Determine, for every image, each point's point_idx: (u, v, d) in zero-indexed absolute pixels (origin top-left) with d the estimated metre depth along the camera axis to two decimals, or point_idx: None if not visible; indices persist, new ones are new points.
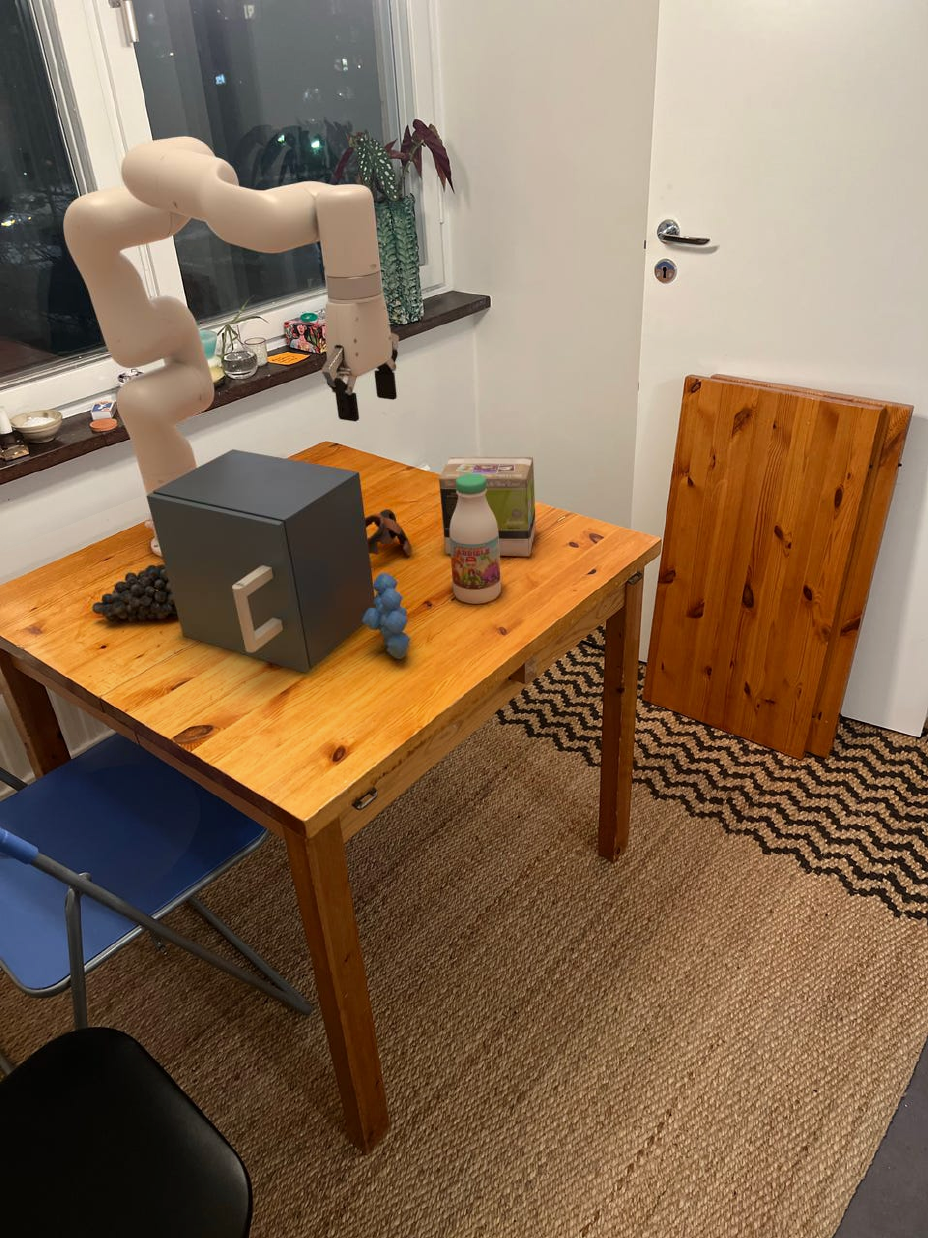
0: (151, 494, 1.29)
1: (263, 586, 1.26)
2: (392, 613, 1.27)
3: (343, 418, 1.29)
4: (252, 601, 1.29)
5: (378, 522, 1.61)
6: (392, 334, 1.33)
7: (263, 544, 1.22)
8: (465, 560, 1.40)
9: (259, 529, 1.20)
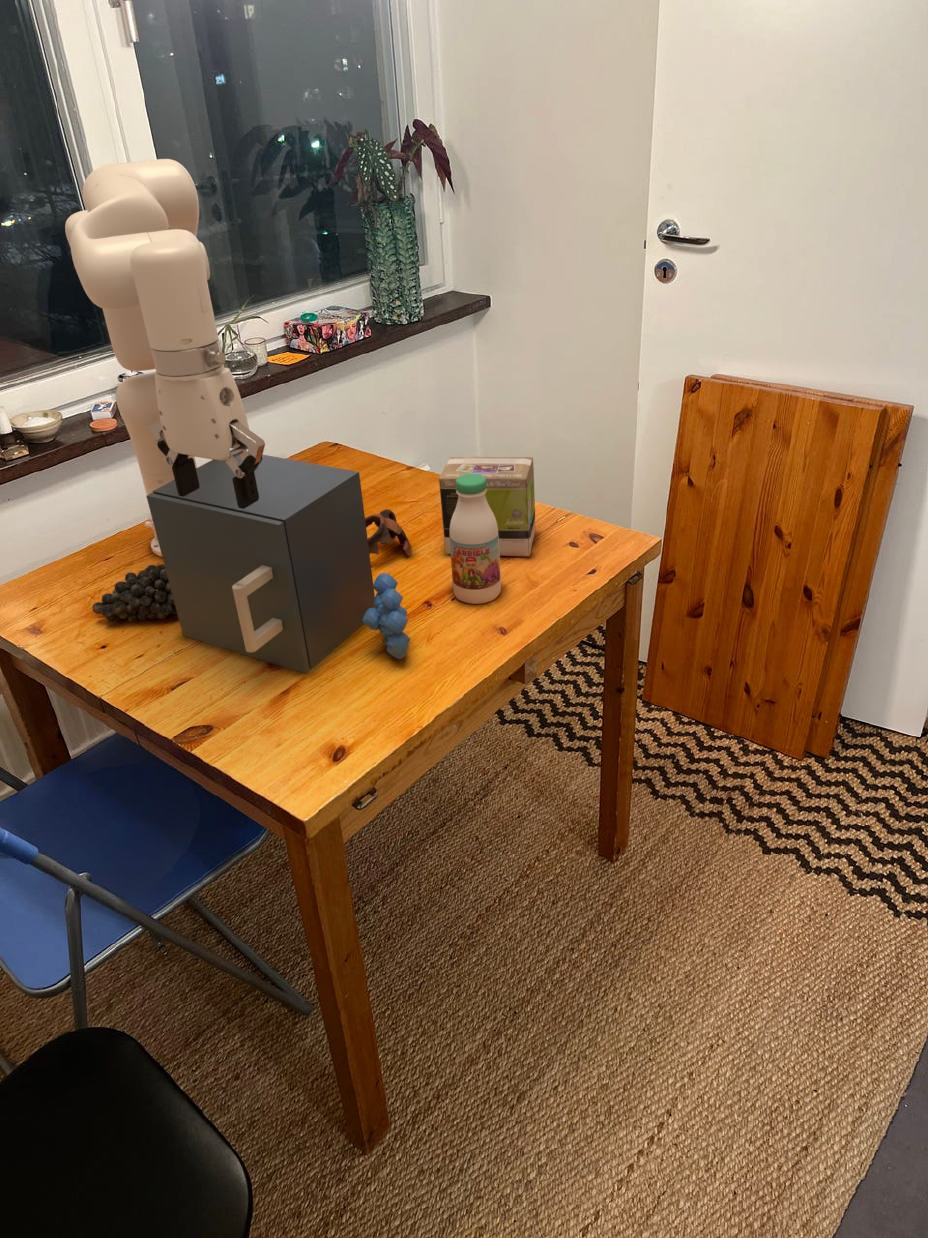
0: (151, 494, 1.29)
1: (263, 586, 1.26)
2: (392, 613, 1.27)
3: None
4: (252, 601, 1.29)
5: (378, 522, 1.61)
6: (246, 437, 1.04)
7: (263, 544, 1.22)
8: (465, 560, 1.40)
9: (259, 529, 1.20)
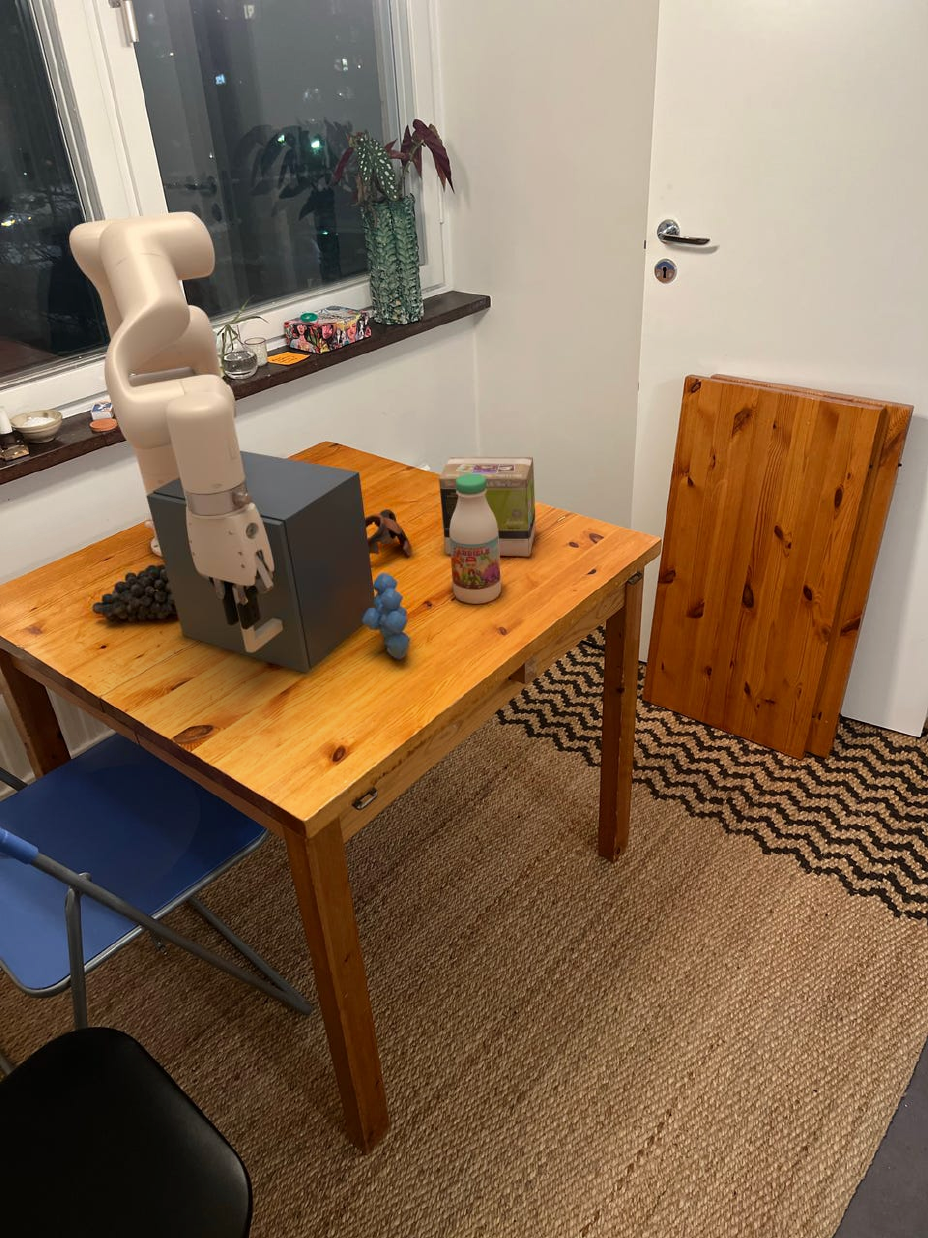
0: (151, 494, 1.29)
1: None
2: (392, 613, 1.27)
3: None
4: None
5: (378, 522, 1.61)
6: (261, 578, 1.15)
7: None
8: (465, 560, 1.40)
9: None
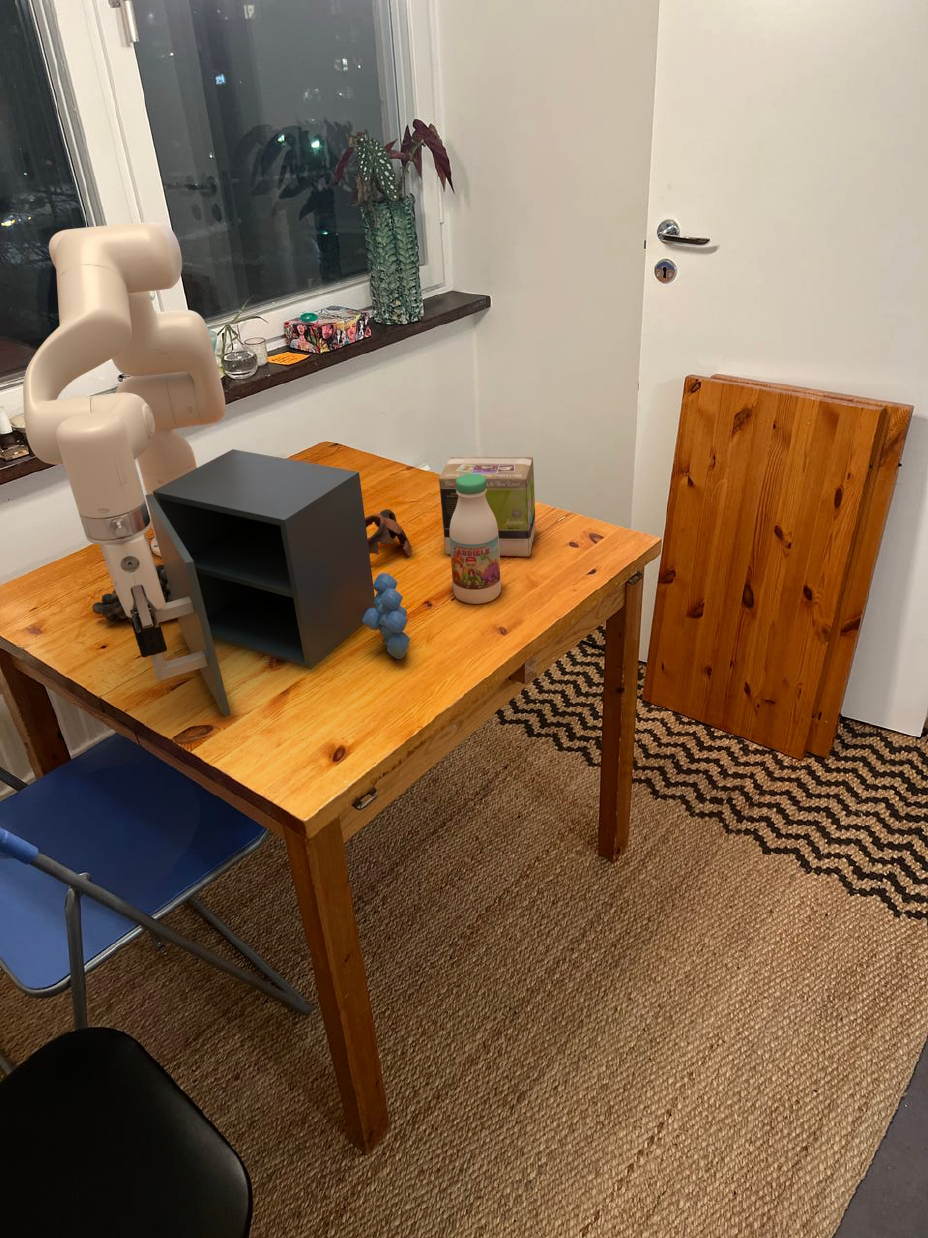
0: (150, 495, 1.29)
1: (193, 617, 1.20)
2: (392, 613, 1.27)
3: None
4: (193, 627, 1.24)
5: (378, 522, 1.61)
6: (139, 614, 1.09)
7: (185, 576, 1.15)
8: (465, 560, 1.40)
9: (180, 561, 1.14)
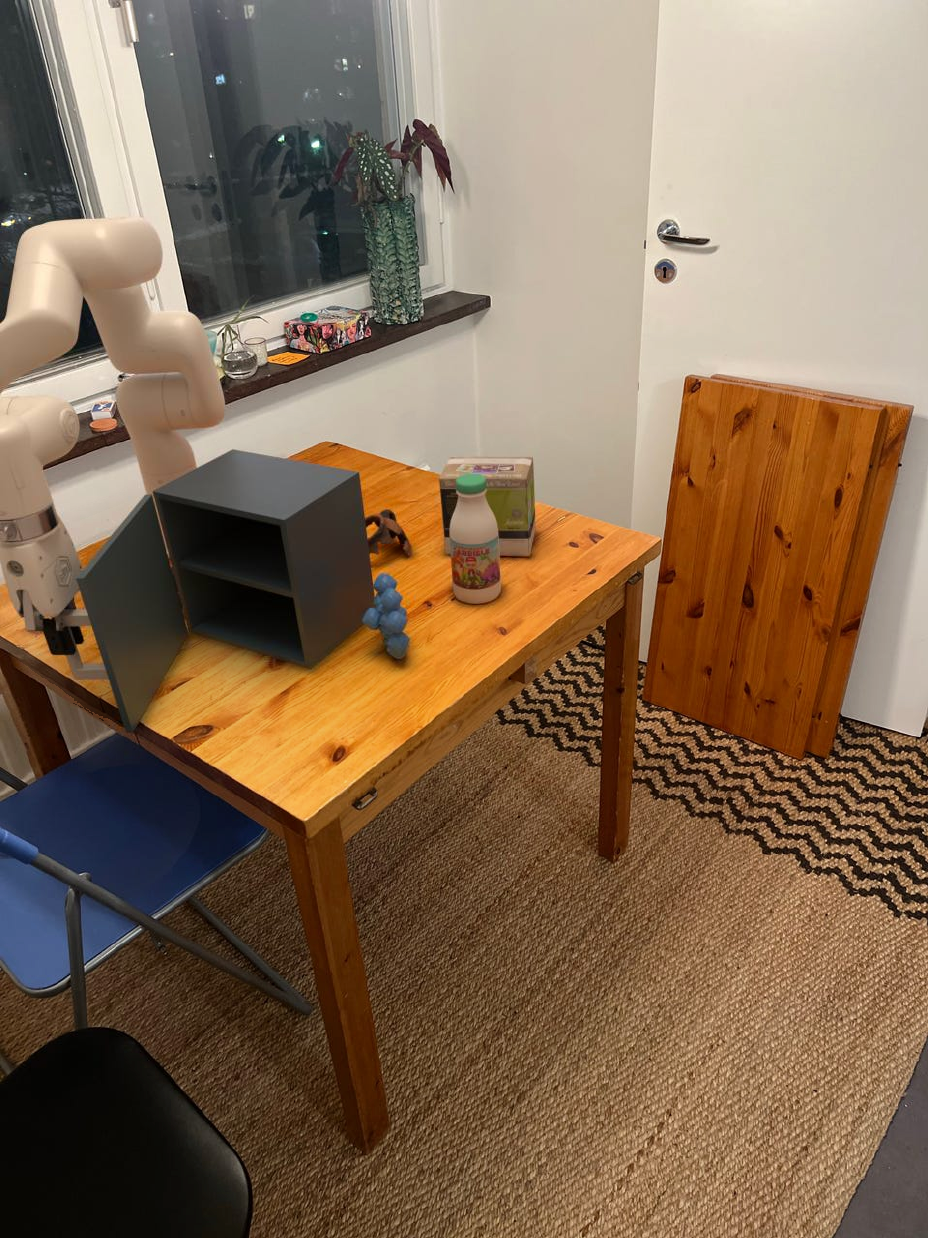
0: (148, 495, 1.29)
1: None
2: (392, 613, 1.27)
3: None
4: None
5: (378, 522, 1.61)
6: None
7: None
8: (465, 560, 1.40)
9: None
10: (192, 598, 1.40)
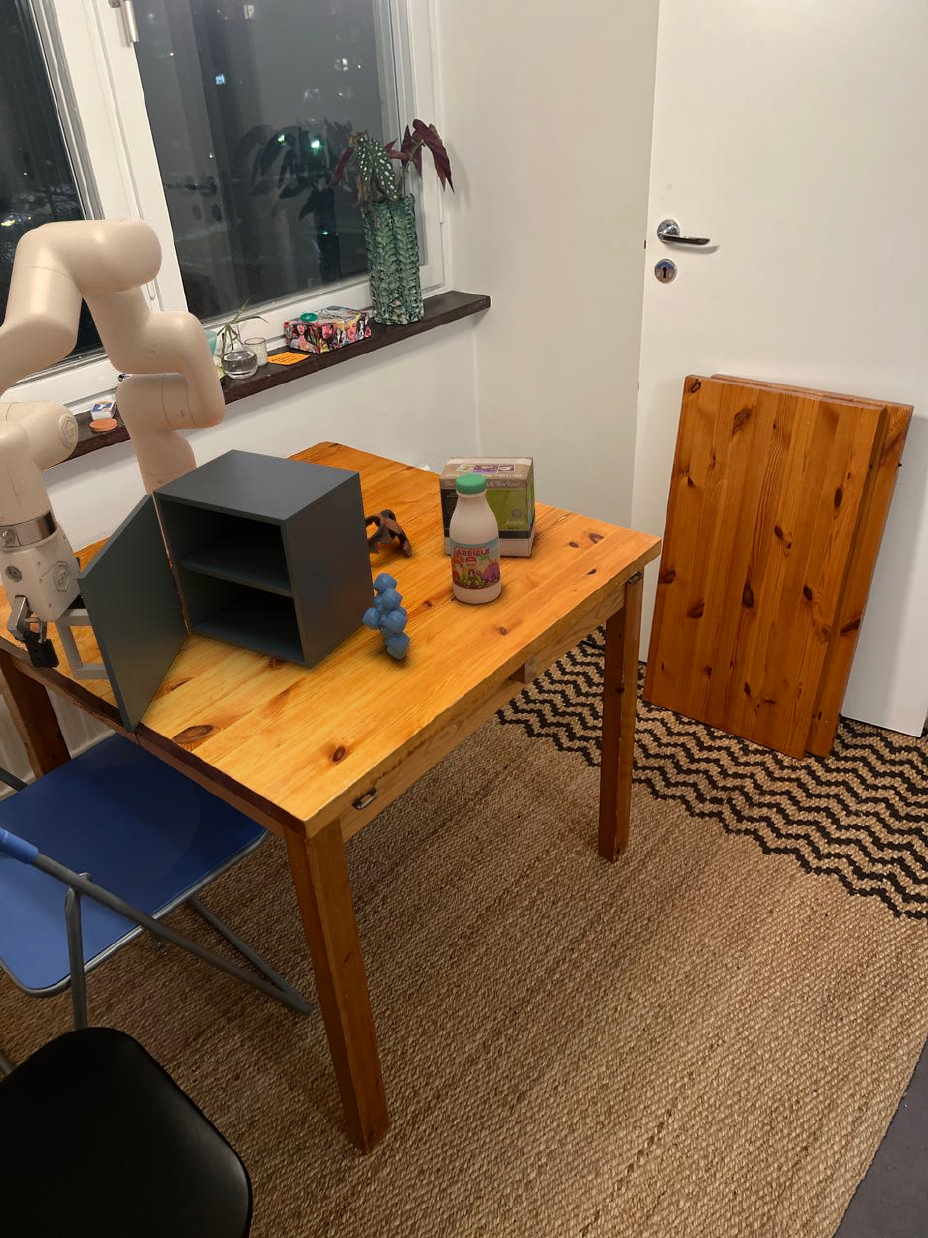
0: (148, 495, 1.29)
1: None
2: (392, 613, 1.27)
3: None
4: None
5: (378, 522, 1.61)
6: None
7: None
8: (465, 560, 1.40)
9: None
10: (192, 598, 1.40)
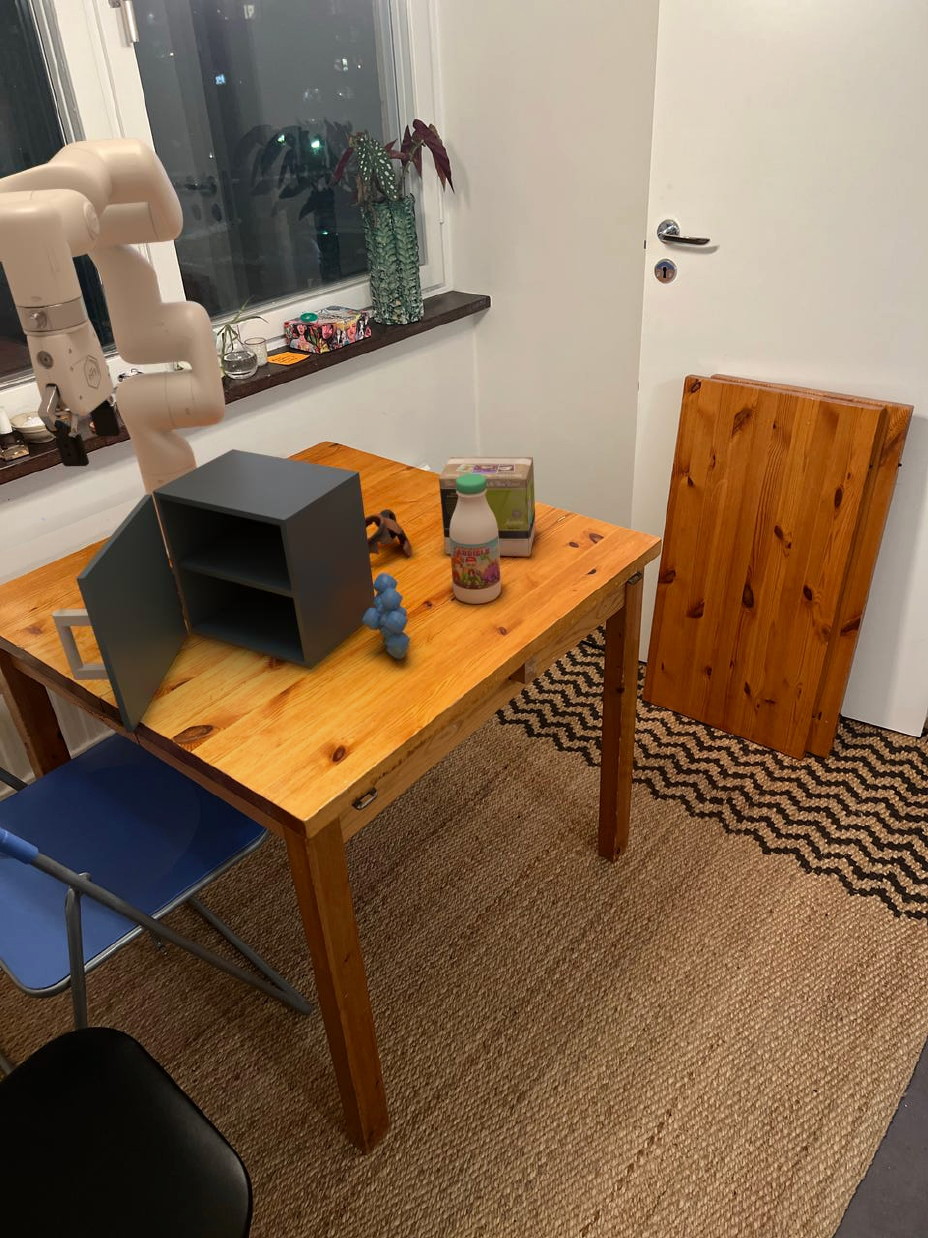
0: (148, 495, 1.29)
1: None
2: (392, 613, 1.27)
3: None
4: None
5: (378, 522, 1.61)
6: None
7: None
8: (465, 560, 1.40)
9: None
10: (192, 598, 1.40)
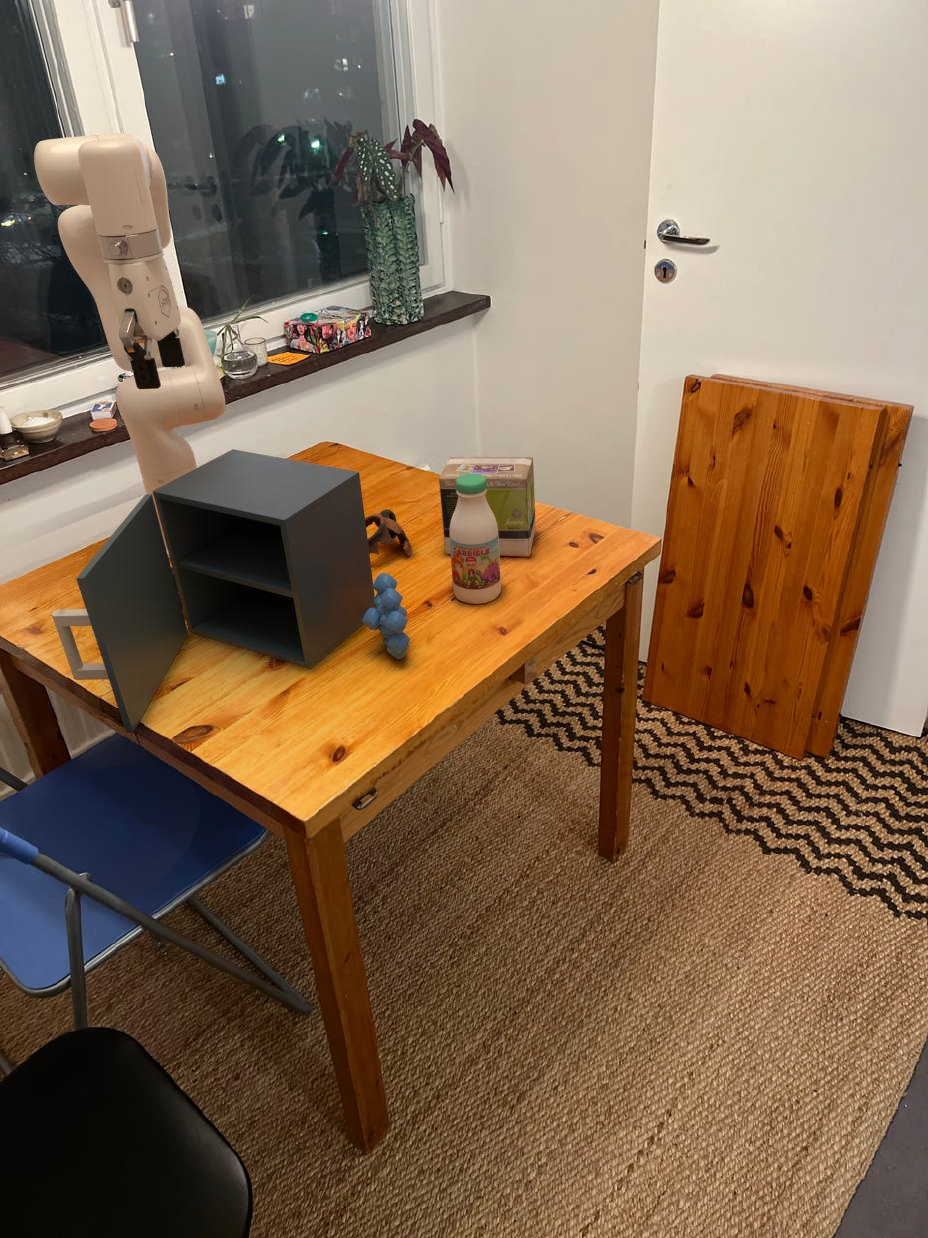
0: (148, 495, 1.29)
1: None
2: (392, 613, 1.27)
3: None
4: None
5: (378, 522, 1.61)
6: None
7: None
8: (465, 560, 1.40)
9: None
10: (192, 598, 1.40)
